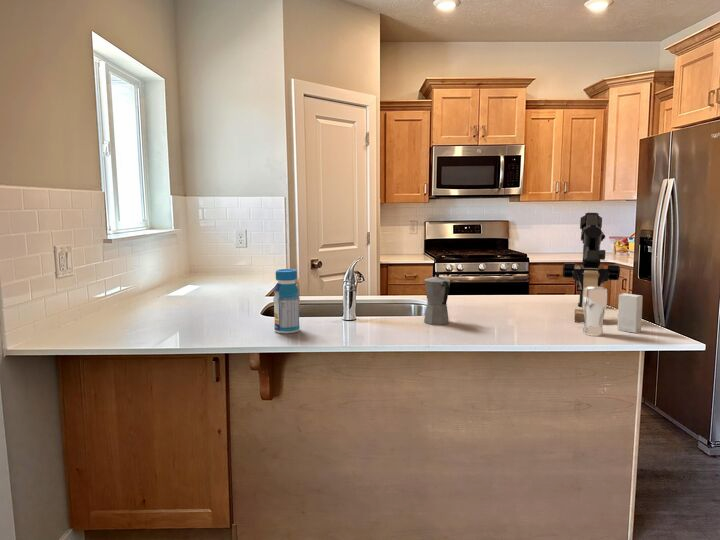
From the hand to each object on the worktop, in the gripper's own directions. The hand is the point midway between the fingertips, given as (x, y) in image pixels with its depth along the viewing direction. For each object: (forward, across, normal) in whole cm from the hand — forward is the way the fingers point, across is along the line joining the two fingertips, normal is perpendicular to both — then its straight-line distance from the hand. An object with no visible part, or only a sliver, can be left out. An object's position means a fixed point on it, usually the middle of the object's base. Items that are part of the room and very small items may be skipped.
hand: (590, 290), depth 180 cm
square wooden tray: (+7, 0, +9) cm, 11 cm away
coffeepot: (+25, -48, -9) cm, 55 cm away
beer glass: (+21, +1, -5) cm, 22 cm away
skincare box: (+15, +12, +1) cm, 19 cm away
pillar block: (+4, 0, +6) cm, 7 cm away
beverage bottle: (+47, -91, -31) cm, 107 cm away
